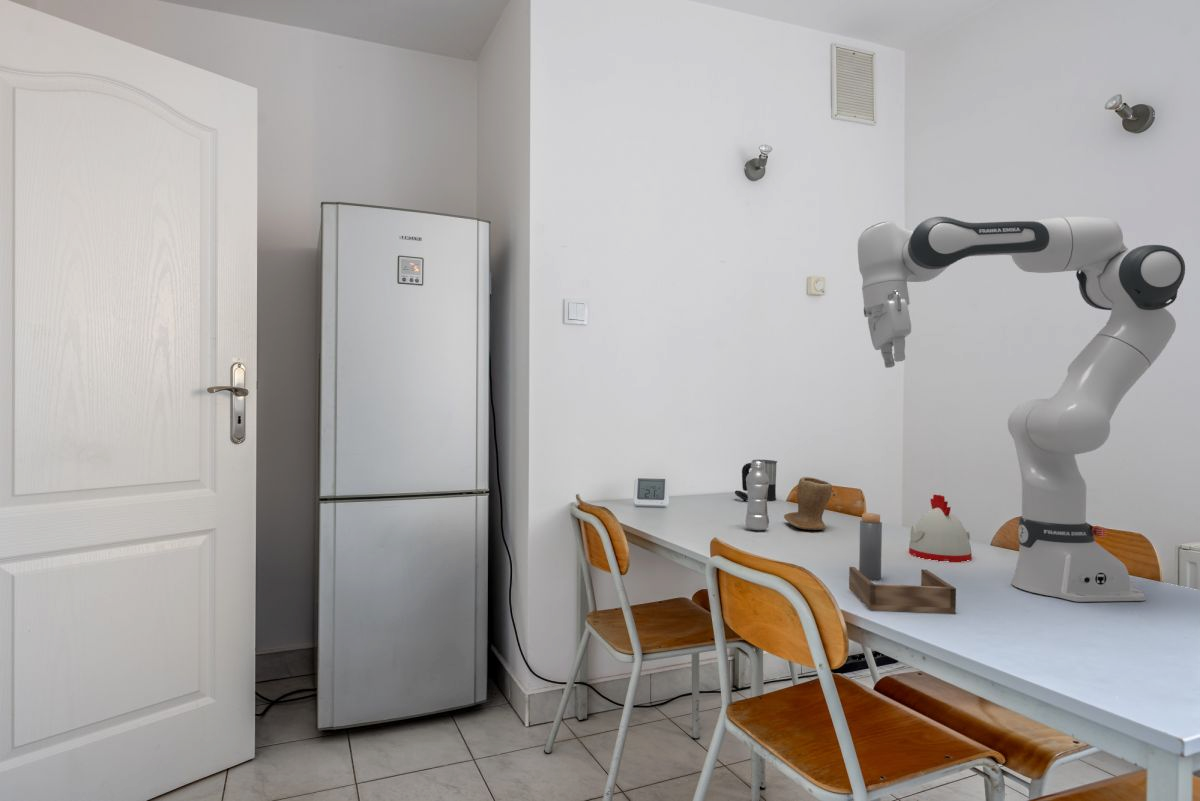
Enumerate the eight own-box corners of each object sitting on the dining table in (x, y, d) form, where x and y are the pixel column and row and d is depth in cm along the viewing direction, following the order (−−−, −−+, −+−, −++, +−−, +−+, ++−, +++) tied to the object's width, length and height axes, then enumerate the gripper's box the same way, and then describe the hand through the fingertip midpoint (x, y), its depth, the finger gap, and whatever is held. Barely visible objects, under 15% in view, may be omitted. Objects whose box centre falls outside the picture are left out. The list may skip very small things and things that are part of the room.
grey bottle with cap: (877, 575, 153) (878, 513, 152) (883, 580, 148) (884, 516, 148) (856, 574, 153) (857, 512, 153) (862, 580, 149) (863, 516, 148)
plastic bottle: (769, 533, 199) (770, 462, 199) (745, 531, 200) (746, 461, 200) (768, 529, 205) (769, 460, 205) (744, 527, 207) (746, 459, 207)
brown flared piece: (835, 533, 201) (836, 480, 200) (793, 532, 201) (794, 480, 201) (821, 523, 216) (822, 475, 216) (782, 522, 216) (783, 474, 216)
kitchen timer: (952, 550, 180) (953, 491, 180) (983, 562, 167) (984, 499, 167) (899, 549, 180) (900, 491, 180) (925, 562, 166) (926, 499, 166)
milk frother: (778, 498, 268) (779, 460, 268) (771, 504, 254) (771, 463, 254) (741, 496, 274) (742, 458, 274) (732, 501, 260) (732, 461, 260)
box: (926, 592, 140) (926, 569, 140) (955, 613, 126) (956, 588, 126) (849, 589, 141) (849, 566, 141) (869, 610, 127) (870, 585, 127)
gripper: (914, 285, 137) (924, 354, 136) (891, 308, 157) (899, 368, 156) (880, 289, 138) (889, 358, 137) (862, 311, 158) (870, 372, 157)
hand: (894, 364), depth 147 cm, fingers open, 8 cm apart
